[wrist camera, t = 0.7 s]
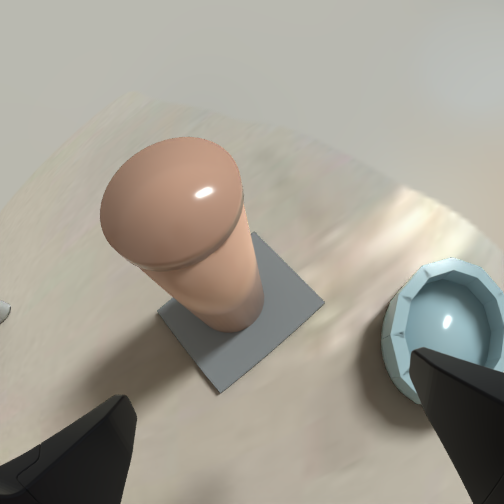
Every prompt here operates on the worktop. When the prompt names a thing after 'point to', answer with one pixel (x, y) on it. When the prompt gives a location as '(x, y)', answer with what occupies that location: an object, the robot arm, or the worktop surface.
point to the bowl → (444, 319)
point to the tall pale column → (4, 310)
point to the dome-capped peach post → (187, 229)
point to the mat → (256, 335)
